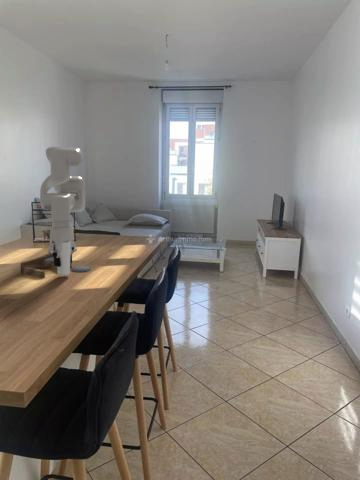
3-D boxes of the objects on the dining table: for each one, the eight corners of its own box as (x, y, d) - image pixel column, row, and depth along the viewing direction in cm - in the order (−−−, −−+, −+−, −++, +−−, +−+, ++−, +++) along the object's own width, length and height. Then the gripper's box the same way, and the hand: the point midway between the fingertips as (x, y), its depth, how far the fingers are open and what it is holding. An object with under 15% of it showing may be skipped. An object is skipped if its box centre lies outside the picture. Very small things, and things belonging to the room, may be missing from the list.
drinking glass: (74, 272, 159) (73, 240, 155) (65, 277, 152) (63, 243, 149) (62, 270, 161) (60, 238, 157) (52, 275, 155) (50, 241, 151)
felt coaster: (67, 270, 166) (67, 269, 166) (80, 265, 174) (80, 264, 174) (82, 273, 162) (82, 272, 162) (94, 268, 170) (94, 267, 170)
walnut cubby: (21, 273, 160) (20, 262, 159) (51, 263, 176) (51, 254, 175) (42, 278, 154) (41, 267, 153) (71, 267, 170) (71, 257, 169)
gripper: (69, 220, 161) (70, 258, 165) (39, 226, 146) (41, 267, 150) (82, 222, 158) (83, 260, 162) (52, 228, 142) (54, 270, 146)
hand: (63, 263), depth 156 cm, fingers closed on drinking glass, 6 cm apart
